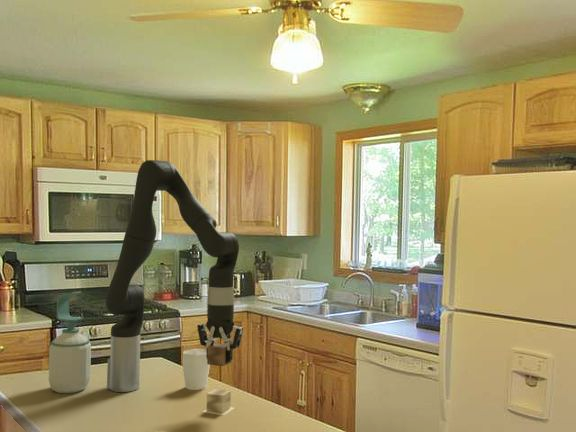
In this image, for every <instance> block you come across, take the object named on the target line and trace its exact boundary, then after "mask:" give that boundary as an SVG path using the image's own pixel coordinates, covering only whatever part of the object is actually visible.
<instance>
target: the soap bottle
mask: <svg viewBox="0 0 576 432" xmlns="http://www.w3.org/2000/svg"><path fill="white" fill-rule="evenodd" d="M81 293H82V291H81V290H80V291H79V290H78V291H73V292H69V293H65V294H62V295H60V296H58V297H57V299H56V319H57V320H58V321H61V322H62V321H63V322H64V323H65V324H66V325H67V328H63V329H62V330H61V334H60V335H58V336H57V337H55V338H54V339H53V340H52V341H51V342H50V346H49V350H48V351H49V352H48V354H49V355H48V382H49V383H48V384H49V387H50V389H52V390H53V391H54V392H55V393H59V394H75V393H78V392H81V391H83V390H84V389H86V388H87V387H88V384H89V382H90V379H91V367H92V365H91V362H92V361H91V358H92V353H91V352H92V344H91V340H90V339H89V338H88V337H87V336H85V335H83V334H81V332H80V328H77V327H75V325H77V324H78V323H77V322H78V321H81V320H83V317H81V316H72V315H70V299H71V297H72V296H75V295H78V294H81ZM65 324H64V325H65Z"/></svg>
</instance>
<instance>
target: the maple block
mask: <svg viewBox="0 0 576 432" xmlns="http://www.w3.org/2000/svg"><path fill="white" fill-rule="evenodd" d="M231 393H232V392H231V390H226V389H219V388H214V389H212V390H210V391H209V392H207V393H206V409H207V411H209V412H215V413H222V414H223V413H224V412H226V411H227V410H228V409H230V407H231Z"/></svg>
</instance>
